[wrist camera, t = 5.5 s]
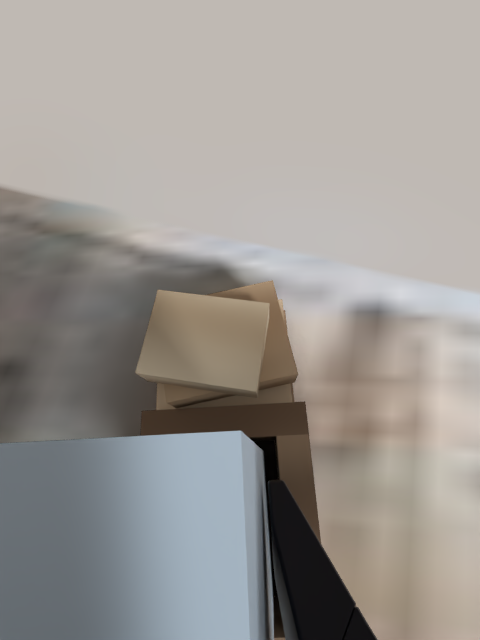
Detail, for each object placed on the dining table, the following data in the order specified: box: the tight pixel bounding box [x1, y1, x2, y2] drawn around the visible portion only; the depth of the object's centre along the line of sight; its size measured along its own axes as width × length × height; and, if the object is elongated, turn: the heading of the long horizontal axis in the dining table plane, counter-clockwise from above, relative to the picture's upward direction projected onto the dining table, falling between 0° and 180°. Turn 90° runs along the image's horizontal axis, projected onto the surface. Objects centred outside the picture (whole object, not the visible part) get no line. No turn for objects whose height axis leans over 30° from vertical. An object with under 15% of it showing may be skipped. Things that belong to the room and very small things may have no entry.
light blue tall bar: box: [0, 431, 274, 640], centre depth 9 cm, size 5×3×14 cm, turn 3°
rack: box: [140, 310, 321, 640], centre depth 15 cm, size 13×6×4 cm, turn 3°
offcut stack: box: [135, 280, 298, 410], centre depth 15 cm, size 5×6×5 cm
